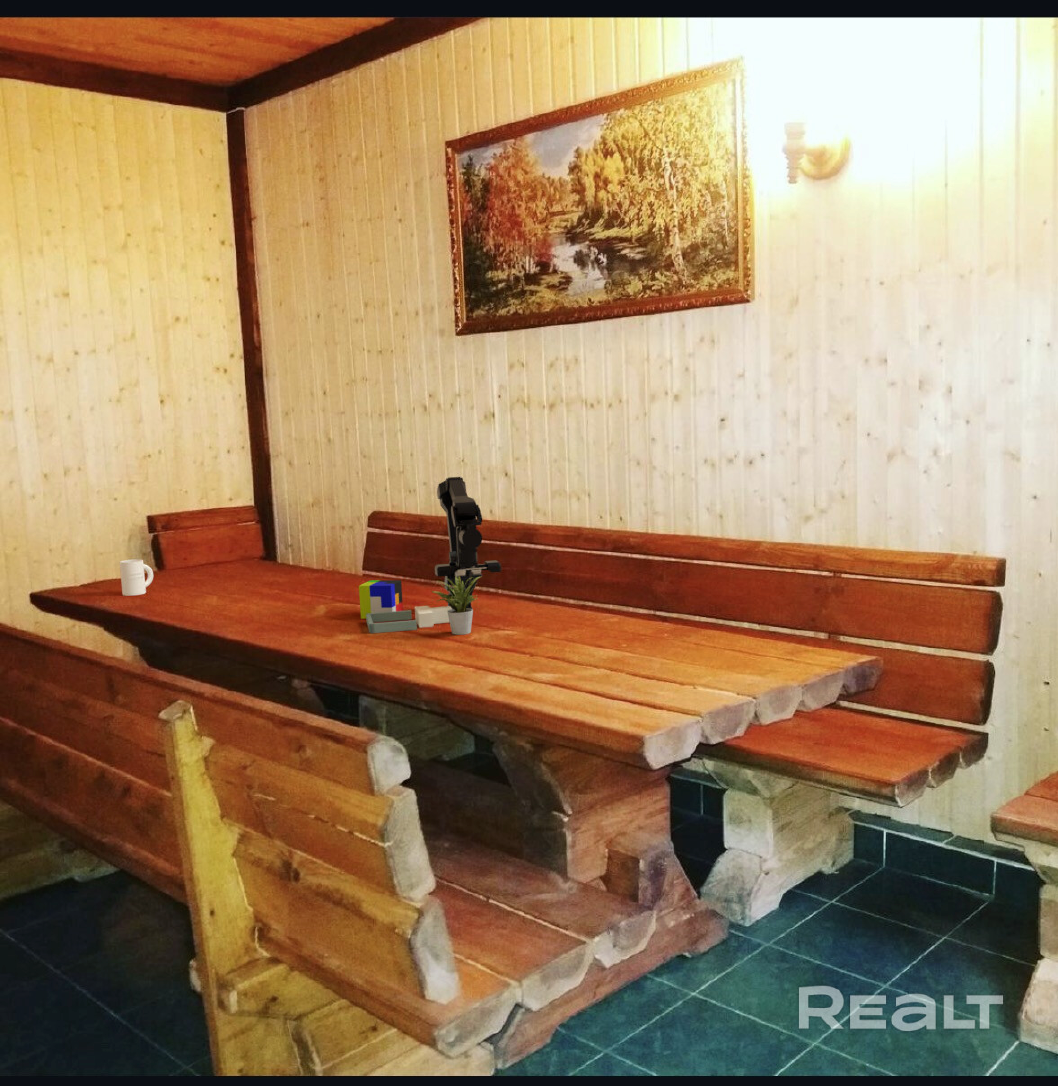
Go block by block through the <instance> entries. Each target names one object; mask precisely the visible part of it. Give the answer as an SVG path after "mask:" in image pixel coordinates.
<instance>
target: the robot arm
mask: <svg viewBox="0 0 1058 1086" xmlns="http://www.w3.org/2000/svg"><path fill="white" fill-rule="evenodd" d="M436 490H437V491H436V496H437V499H438V500H439V504H440V507H441V509H443V511H444V512H445V514H446V523H447V532H448V534H447V535H448V542H449V543H448V545H449V551H448V560H449V562H448V563H443V564H442V563H441V564H439V563H438V564H436V565H435V566H434V574H435V576H437V577H444V583H447V584H448V585H449V586H450V587H451V588H452V589H454V587H453V585H452V583H451V582H450V581H452V582H453V584H454V585H455V586H456V580H455V576H456V577H457V578H458V579H459V576H460V579H461V586H462V581H463V583H464V585H465V583H466V581H467V580H468V579H469V578H471V579H469V580H468V581H467V583H466V585H465V588H464V592H465V590H466V589H467V588H468V586H469V585H470V583H471V582H472V581H473V580H474V579H475V578H477V577H483V574H482V573H481V572H482V571H489V572H490V573H501V572H502V565H501V563H500V562H499V561H498V560H496V559H495V560H484V563H478V547H479V546H481V544H482V542H483V535H482V533H481V531H479V530H478V528H477V526H482V523H483V515H482V512H481V508H480V506H479V504H477V503H476V500H475V499H474V498H473V497H469V496H468V494H467V486H466V482H465V481H464V477H461V476H450V477H447V478H445V480H443V481H441V482H440V483H439V484H438V485H437V487H436ZM472 577H473V578H472ZM447 578H448V579H449V580H450V581H449V580H448V579H447ZM478 579H479V578H478ZM478 579H477V580H476V581H475V582H474V583H473V585H472V586H471V588H470V590H469V593H470V594H469V593H468V594H469V596H470V595H473V594H474V593H473V592H474V589H475V588H476V585H477V583H478ZM446 586H447V585H446ZM446 586H445V585H444V587H445V588H446V589H447V590H446V589H445V588H444V589H445V590H446V592H448V593H447V595H449V596H450V597H451V596H452V595H451V594H450V593H452V594H453V596H455V595H454V593H453V592H452V591H451V590H450V588H449V587H448V586H447V587H448V588H449V589H448V588H447V587H446ZM474 586H475V587H474ZM473 587H474V588H473ZM448 590H450V591H451V592H450V593H449V591H448ZM471 590H472V591H471ZM470 591H471V592H470ZM467 597H468V596H467ZM452 598H453V597H452ZM461 598H462V594H461ZM453 599H454V598H453ZM466 599H467V598H466ZM450 604H451V603H450ZM450 604H449V603H447V606H450V607H451V608H452V609H453V607H454V606H453V607H452V606H451V605H450ZM467 608H469V609H473V607H472V602H470V603H469V604H468V606H467Z"/></svg>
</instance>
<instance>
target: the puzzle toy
mask: <svg viewBox="0 0 1058 1086" xmlns="http://www.w3.org/2000/svg"><path fill="white" fill-rule="evenodd" d="M358 594H359V596H358V597H359V607H360V611H359V612H360V619H366V614H368V613H381V612H394V611H404V607H403V606H404V604H403V588H402V580H401V579H392V580H391V579H389V580H387V579H383V580H382V579H381V580H379V579H377V580H374V579H373V580H369V581H366V582H364V583H362V584H360V585H358Z"/></svg>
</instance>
